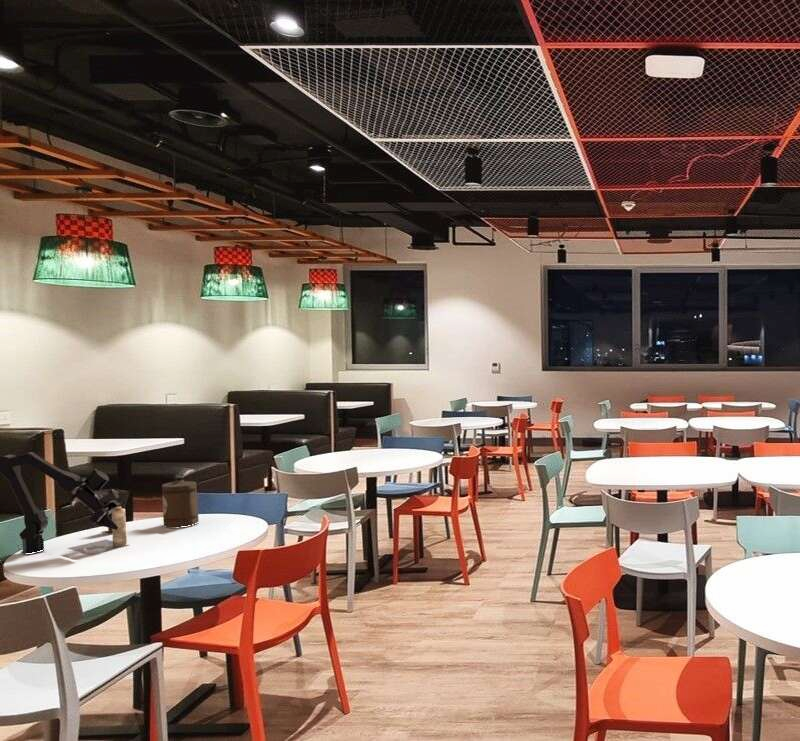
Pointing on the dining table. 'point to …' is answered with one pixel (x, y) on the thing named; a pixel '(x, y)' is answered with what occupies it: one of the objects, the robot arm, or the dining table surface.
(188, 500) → the wooden container
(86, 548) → the baseplate
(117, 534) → the beige wooden pepper mill
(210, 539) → the dining table surface
